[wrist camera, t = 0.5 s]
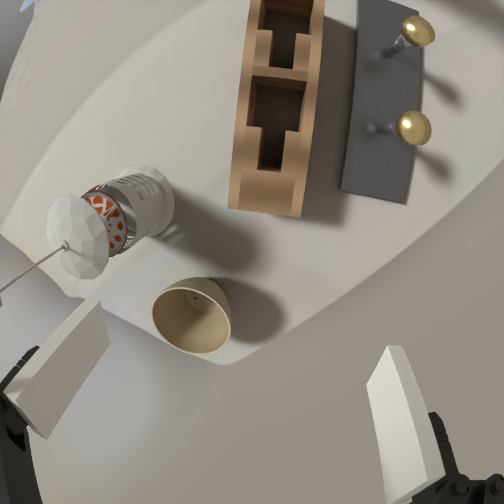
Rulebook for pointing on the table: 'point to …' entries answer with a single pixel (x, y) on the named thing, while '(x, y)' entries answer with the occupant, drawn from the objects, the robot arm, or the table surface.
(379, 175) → the rail
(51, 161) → the table surface
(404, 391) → the robot arm
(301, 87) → the wooden compartment box
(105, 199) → the french press
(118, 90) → the table surface
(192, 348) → the flower pot
